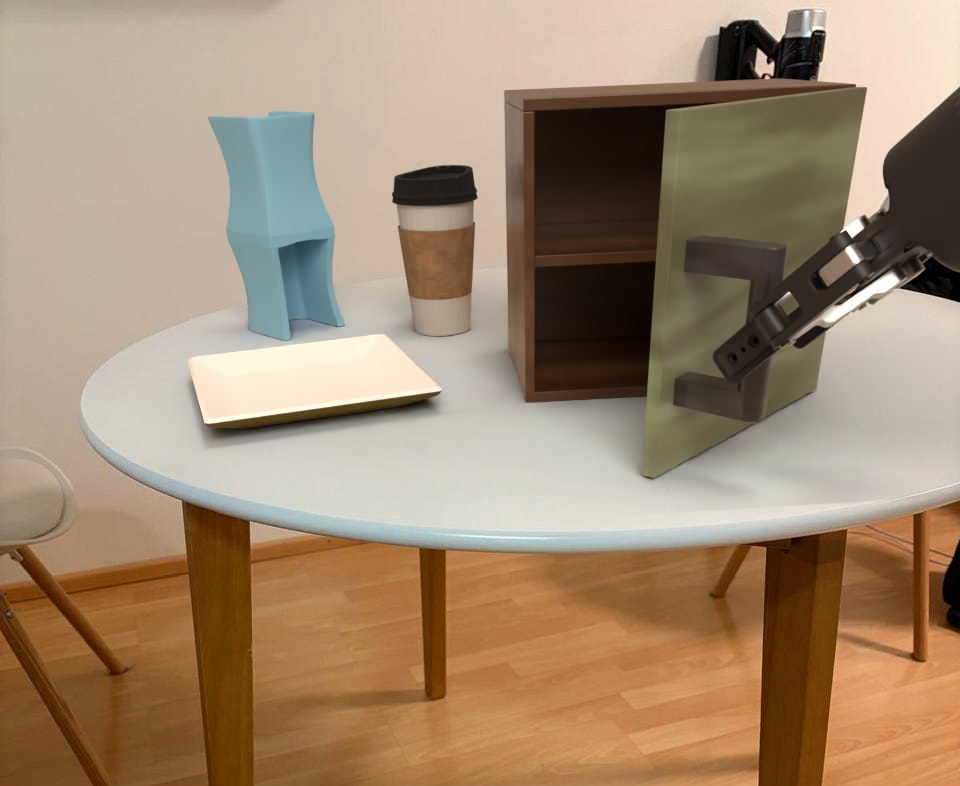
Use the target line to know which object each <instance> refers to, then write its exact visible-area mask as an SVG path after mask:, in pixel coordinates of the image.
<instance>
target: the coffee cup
mask: <svg viewBox="0 0 960 786" xmlns="http://www.w3.org/2000/svg"><path fill="white" fill-rule="evenodd" d="M475 183H476V182H475V177H474V170H473V167H472V166H470V165H466V164H465V165H464V164H443V165H442V164H441V165H433V166H428V167H424V168H419V169H415V170H412V171H407V172H404V173H400V174H397V175H394V177H393V191H392V193H391V197H392V200H391V202H392V203H393V204H395V205H396V210H397V217H398V225H397V230H398V231H397V232H398V237H399V244H400V248H401V249H400V250H401V256H402V261H403V269H404V273H405V280H406V286H407V290H408V291H407V292H408V296H409V302H410V303H409V304H410V308H411V315H412V316H411V317H412V324H413V328H414V329H413V331H414V332H415V333H417V334H419V335H423V336H427V337H447V336H448V337H449V336H454V335H461V334H463V333H466V332H468V331H469V330H470V329H471V321H472V318H471V317H472V292H473V274H474V255H475V253H474V252H475V235H476V222H475V221H474V207H475V201H476V200H478V199H479V197H478V194H477V193H478V189H477V188H476V185H475Z"/></svg>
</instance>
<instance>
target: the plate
mask: <svg viewBox="0 0 960 786" xmlns="http://www.w3.org/2000/svg"><path fill="white" fill-rule="evenodd" d="M187 364H188V368H189V372H190V375H191V379H192V382H193V386H194V390H195V393H196V398H197V401H198V404H199V408H200V412H201V415H202V420H203V423H204V424H205V425H206V426H207V428H212V429H239V430H240V429H241V430H242V429H244V430H246V429H253V428H260V427H261V428H262V427H267V426H274V425H282V424H287V423H295V422H301V421H309V420H315V419H322V418H330V417H337V416H342V415H343V416H344V415H349V414H357V413H365V412H371V411H378V410H384V409H392V408H399V407H402V406H406V405H410V404H413V403H416V402H417V403H418V402H421V401H423V400H427V399H430V398H434V397H437V396H439V395H441V393H442V392H443V388H442V387H441V386H440V385H439V384H438V383H437V382H436V381H435V380H434V379H433V378H431V377H430V375H428V374H427V373H426V372H425V370H423V369H422V368H421V367H420V366H419V365H418V364H417V363H416V362H415V361H414V360H413V359H412V358H411V357H409V355H408V354H407V353H406V352H405V351H403V349H401V347H399V345H397V344H396V343H395V342H394V340H392V339H391V337H389V336H388V335H386V334H385V333H378V334H370V335H368V334H367V335H362V336H361V335H360V336H354V337H353V336H352V337H344V338H337V339H329V340H328V339H327V340H320V341H313V342H311V341H310V342H303V343H295V344H288V345H279V346H272V347H262V348H255V349H246V350H239V351H230V352H223V353H221V352H220V353H213V354H206V355H198V356H192V357H190V358H189V359H187Z"/></svg>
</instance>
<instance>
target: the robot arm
mask: <svg viewBox="0 0 960 786" xmlns="http://www.w3.org/2000/svg"><path fill="white" fill-rule="evenodd" d="M882 179H883V184H884V187H885V189H886V190H887V193H888V201H889V202H888V210H886V208H885V207H882V208H881V209H879V210H878V211H876V212H875V213H873V214H872V215H871V216H870V217H869V218H868V217H867V215H866V214H863V215H861V216H859V217H858V218H857V219H855V220H854V221H852V222H851V223H849V224H847V226H844V228H843V230H842V231H841V232H840V234H839V233H836V234H835V235H833V236H832V237H831V238H830V239H829V242H828V243H827V244H826V245H825V246H823V247H822V248H821V249H820V250H819V251H817V252H816V253H815V254H814V255H813V256H812V257H810V258H809V259H808V260H807V261H806V262H804V263H803V264H802V265H801V266H800V267H798V268H797V269H796V270H795V271H794V272H793V273H792V274H790V275H789V276H788V277H787V278H786V279H784V280H783V281H782V282H781V283H780V284H779V285H777V286H776V287H775V288H774V289H773V290H771V291H770V292H769V293H768V294H767V295H766V296H764V297H763V298H762V299H761V298H760V299H758V300H757V301H756V302H754V303H753V307H752V308H750V309H749V311H748V312H749V314H750V315H751V316H752V318H753V319H752V320H750V321H749V322H748V323H747V324H746V325H745V326H743V327H742V328H741V329H740V330H739V331H738V332H736V333H735V334H734V335H733V336H732V337H731V338H729V339H728V340H727V341H726V342H725V343H723V344H722V345H721V346H720V347H719V348H718V349H716V350H715V351H714V353H713V361H714V363H715V364H716V365H717V367H718V368H719V370H720V371H721V373H722V374H723V376H724V377H725V379H726V380H727V381H728V382H729V383H737V382H738V381H740V380H742V379H744V378H745V377H746V376H747V375H749V374H750V373H751V372H753V371H754V370H755V369H756V368H758V367H759V366H760V365H761V364H763V363H764V362H765V361H766V360H768V359H769V358H770V357H772V356H773V355H774V354H775V353H777V352H778V351H779V350H780V349H782V348H784V347H786V346H788V347H789V346H791V345H792V344H793V346H794V347H795V348H798V349H801V348H804V347H806V346H808V345H809V344H810V343H812V342H813V341H814V340H816V339H817V338H818V337H819V336H821V335H822V334H823V333H825V332H826V333H827V331H828V330H830V329H832V328H833V327H834V326H835V325H836V324H838V323H840V321H842V320H843V319H845V317H847V316H849V315H850V314H851V313H852V314H853V313H856V312H857V311H859V312H861V311H862V310H864V309H865V308H866V307H867V306H868V304H869V305H873V306H874V305H875V304H877V303H878V302H880V301H881V300H883V299H884V298H886V297H888V296H889V295H890V294H892V293H894V291H895V290H897V289H900V288H901V287H903V286H905V285H906V284H907V283H909V282H910V281H913V279H915V278H917V277H918V276H919V275H920V274H921V273H923V272H924V271H925V270H926V267H925V265H924V263H926V262H927V261H928V260H929V259H931V258H933V260H935V261H936V262H938V263H939V264H941V265H942V266H944V267H945V268H947V269H949V270H952V271H954V272H957V273H960V86H958V87H957V88H956V89H955V90H954V91H953V92H952V93H951V94H949V95H948V96H947V97H946V98H945V99H944V100H943V101H942V102H941V103H940V104H939V105H938V106H937V107H935V108H934V109H933V110H932V111H931V112H930V113H929V114H928V115H926V116H925V117H924V118H923V119H922V120H921V121H920V122H919V123H918V124H917V125H916V126H914V127H913V128H912V129H911V130H910V131H908V132H907V134H905V136H903V137H902V138H901V139H900V140H898V142H897V143H895V144H894V145H893V146H892V147H891V148H890V149H889V150H888V151H887V153H886V155H885V156H884V160H883V164H882ZM793 297H794V298H795V300H796V301H797V303H798V304H799V307H797V308H796V309H795V310H794V311H793V312H791V313H790V314H789V315H787V314H786V312H785V311H784V309H783V308H782V307H781V305H783V304H784V303H786V302H787V301H788V300H790V299H791V298H793Z"/></svg>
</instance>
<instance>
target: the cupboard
mask: <svg viewBox="0 0 960 786" xmlns="http://www.w3.org/2000/svg"><path fill="white" fill-rule="evenodd" d="M850 87H857V84H856V83H848V82H847V83H846V82H832V81H819V80H805V79H792V78H758V79H756V78H755V79H733V80H710V81H689V82H688V81H687V82H686V81H685V82H666V83H664V82H663V83H662V82H661V83H641V84H618V85H616V84H615V85H596V86H595V85H594V86H591V85H590V86H570V87H552V88H551V87H548V88H545V87H544V88H524V89H523V88H522V89H504V91H503V101H504V102H503V104H504V107H503V110H504V111H503V112H504V114H503V115H504V163H505V165H504V167H505V223H506V224H505V225H506V230H505V231H506V280H507V282H506V283H507V284H506V286H507V287H506V288H507V337H508V338H507V340H508V341H507V342H508V344H507V345H508V347H507V348H508V352H509V355H510V358H511V362H512V364H513V368H514V371H515V374H516V376H517V380H518V383H519V386H520V389H521V392H522V395H523V398H524V402H525V403H538V402H556V401H560V402H561V401H576V400H577V401H578V400H593V399H594V400H595V399H613V398H629V397H630V398H631V397H632V398H633V397H647V388H648V373H649V358H650V343H651V328H652V313H653V298H654V283H655V268H656V253H657V238H658V223H659V208H660V193H661V178H662V163H663V148H664V133H665V118H666V110H670V109H678V108H686V107H695V106H703V105H711V104H719V103H727V102H735V101H744V100H752V99H760V98H768V97H776V96H785V95H793V94H801V93H809V92H817V91H825V90H834V89H842V88H850Z"/></svg>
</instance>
